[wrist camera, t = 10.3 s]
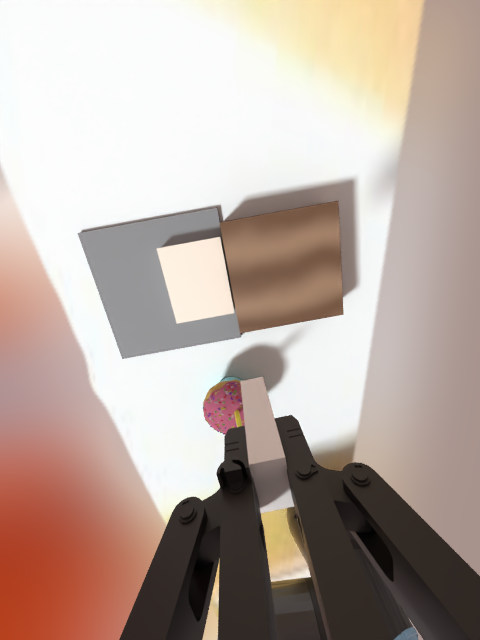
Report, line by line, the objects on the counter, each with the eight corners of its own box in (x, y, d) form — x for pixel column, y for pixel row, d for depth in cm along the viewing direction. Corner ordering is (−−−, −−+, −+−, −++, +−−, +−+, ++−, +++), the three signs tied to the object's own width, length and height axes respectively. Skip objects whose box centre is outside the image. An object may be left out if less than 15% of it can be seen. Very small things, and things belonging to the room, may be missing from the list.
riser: (331, 306, 37) (343, 314, 33) (238, 323, 37) (240, 333, 33) (325, 205, 33) (338, 200, 29) (220, 224, 33) (219, 222, 29)
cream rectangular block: (234, 309, 36) (234, 313, 34) (179, 319, 36) (176, 323, 34) (220, 236, 33) (220, 236, 31) (160, 247, 33) (156, 248, 31)
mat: (240, 336, 38) (241, 337, 37) (123, 357, 38) (122, 358, 37) (217, 208, 32) (217, 207, 32) (79, 233, 32) (77, 233, 32)
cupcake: (217, 358, 39) (214, 408, 27) (266, 377, 40) (283, 431, 29) (197, 402, 41) (187, 465, 30) (245, 418, 43) (252, 484, 31)
